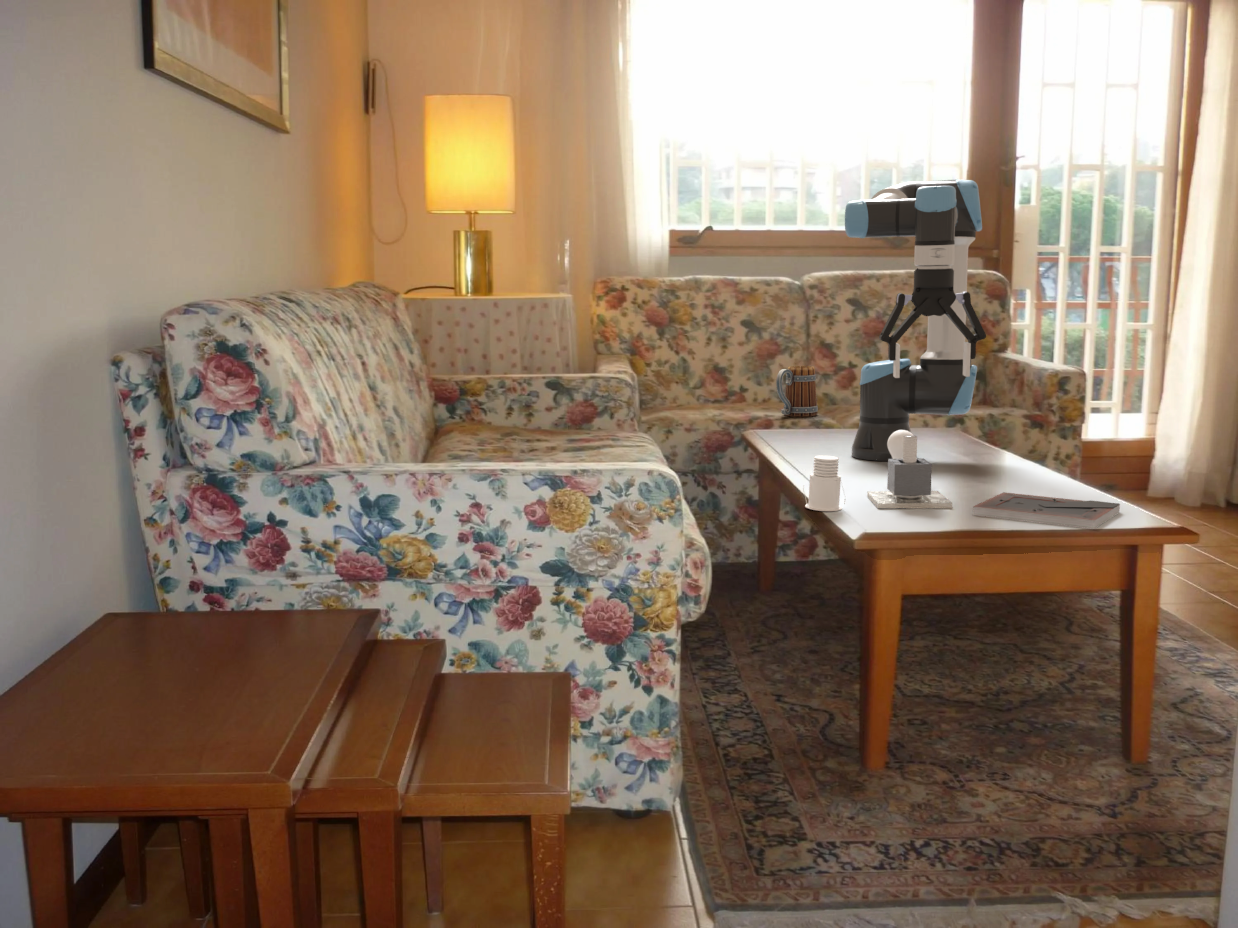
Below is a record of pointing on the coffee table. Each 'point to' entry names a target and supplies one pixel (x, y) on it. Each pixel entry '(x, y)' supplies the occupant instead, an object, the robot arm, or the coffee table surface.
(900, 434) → the lightbulb
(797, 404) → the mug
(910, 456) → the shaft
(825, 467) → the downlight
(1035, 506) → the picture frame
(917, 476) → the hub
